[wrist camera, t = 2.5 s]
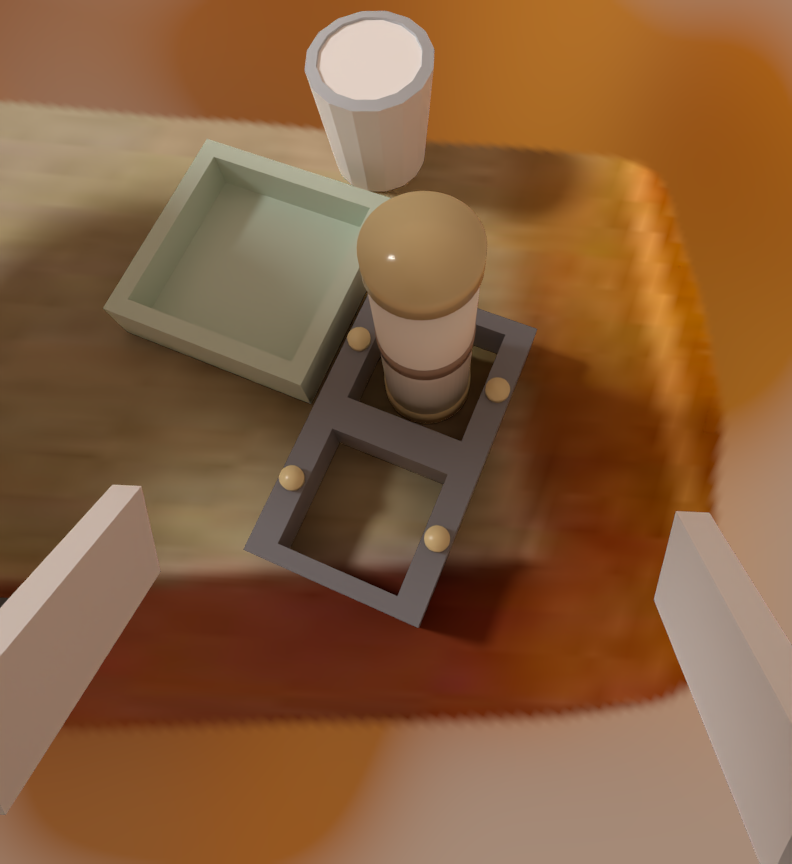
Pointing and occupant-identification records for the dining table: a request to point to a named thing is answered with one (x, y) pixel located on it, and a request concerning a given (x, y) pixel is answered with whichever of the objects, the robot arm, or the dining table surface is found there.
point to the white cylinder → (373, 96)
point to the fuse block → (390, 461)
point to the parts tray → (250, 269)
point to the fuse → (424, 298)
